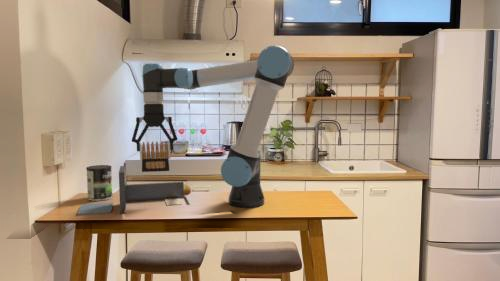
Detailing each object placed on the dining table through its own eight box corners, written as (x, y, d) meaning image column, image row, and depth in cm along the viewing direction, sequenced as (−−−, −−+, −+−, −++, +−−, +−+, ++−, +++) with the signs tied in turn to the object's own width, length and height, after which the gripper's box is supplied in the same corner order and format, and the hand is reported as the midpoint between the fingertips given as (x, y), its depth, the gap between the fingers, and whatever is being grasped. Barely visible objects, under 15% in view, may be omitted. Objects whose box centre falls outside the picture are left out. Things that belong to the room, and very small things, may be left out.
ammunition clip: (141, 171, 155) (140, 141, 154) (142, 171, 157) (141, 141, 156) (169, 170, 156) (168, 141, 155) (169, 170, 158) (168, 140, 157)
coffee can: (117, 196, 176) (116, 165, 175) (104, 201, 166) (102, 169, 165) (96, 195, 178) (95, 164, 177) (82, 200, 168) (81, 168, 167)
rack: (185, 199, 170) (184, 163, 168) (190, 209, 154) (189, 169, 153) (121, 203, 162) (120, 165, 161) (120, 214, 147) (118, 172, 145)
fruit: (193, 197, 172) (187, 180, 170) (170, 205, 170) (164, 188, 168) (191, 191, 182) (186, 175, 181) (169, 199, 181) (164, 183, 179)
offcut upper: (179, 200, 165) (179, 198, 165) (182, 206, 156) (181, 203, 156) (165, 201, 164) (164, 199, 164) (166, 207, 154) (166, 205, 154)
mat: (112, 203, 162) (112, 202, 162) (110, 212, 149) (110, 211, 149) (81, 205, 159) (81, 204, 159) (76, 215, 145) (76, 213, 145)
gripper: (181, 103, 161) (182, 156, 163) (123, 103, 154) (125, 159, 156) (183, 103, 153) (185, 158, 156) (122, 103, 147) (125, 161, 149)
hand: (155, 158), depth 156 cm, fingers closed on ammunition clip, 10 cm apart
